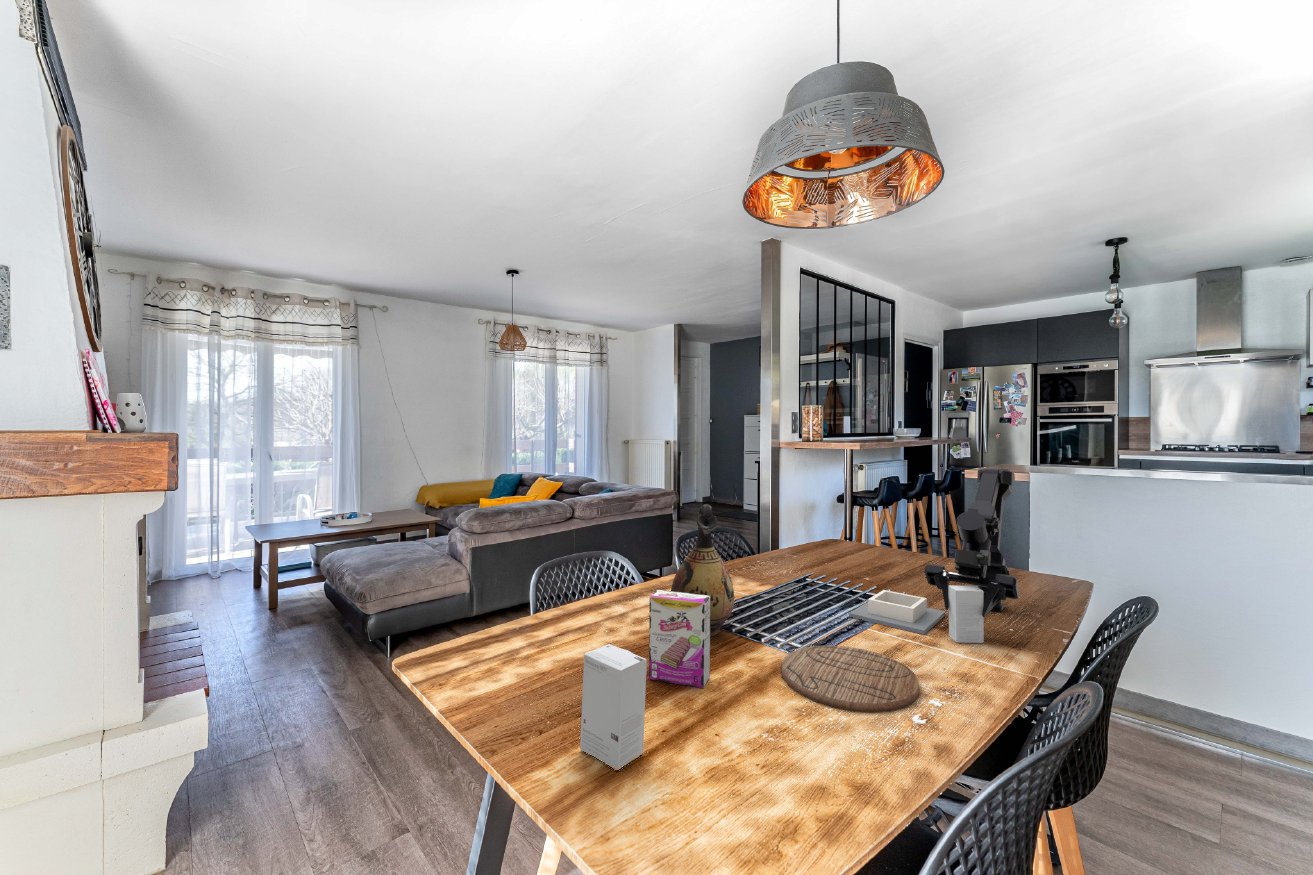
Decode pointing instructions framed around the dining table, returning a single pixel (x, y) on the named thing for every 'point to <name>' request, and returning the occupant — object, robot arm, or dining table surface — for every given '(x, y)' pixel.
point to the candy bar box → (679, 638)
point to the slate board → (918, 626)
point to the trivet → (850, 678)
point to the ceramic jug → (707, 573)
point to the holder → (897, 606)
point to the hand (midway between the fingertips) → (964, 612)
